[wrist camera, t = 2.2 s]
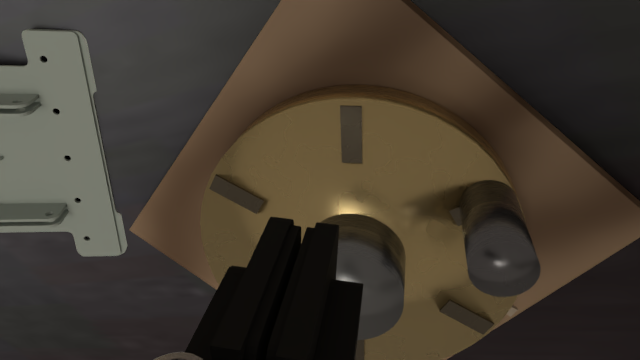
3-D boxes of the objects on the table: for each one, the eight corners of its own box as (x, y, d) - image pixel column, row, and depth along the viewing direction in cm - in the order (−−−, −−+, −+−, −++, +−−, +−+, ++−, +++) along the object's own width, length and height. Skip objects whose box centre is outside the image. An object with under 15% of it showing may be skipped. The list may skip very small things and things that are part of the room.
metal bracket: (-102, 276, 29) (-229, 31, 22) (-48, 223, 34) (-136, 9, 27) (135, 270, 31) (92, 39, 23) (154, 220, 36) (123, 17, 28)
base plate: (641, 202, 24) (661, 227, 22) (382, 376, 33) (380, 404, 31) (333, -68, 20) (324, -67, 18) (145, 212, 30) (127, 231, 28)
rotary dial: (594, 229, 22) (654, 336, 17) (376, 376, 30) (366, 484, 24) (332, 9, 20) (296, 45, 14) (168, 232, 27) (101, 314, 22)
